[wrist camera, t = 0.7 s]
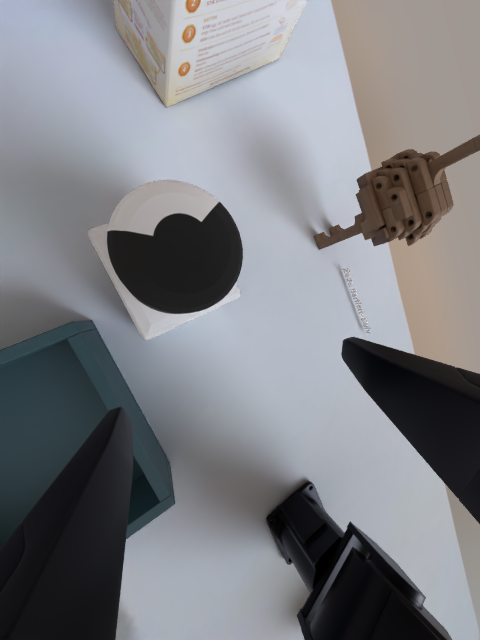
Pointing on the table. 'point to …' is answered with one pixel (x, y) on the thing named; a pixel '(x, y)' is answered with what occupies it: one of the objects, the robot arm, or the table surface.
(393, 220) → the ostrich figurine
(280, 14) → the coffeecake box
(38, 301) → the table surface
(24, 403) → the bin
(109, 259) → the medicine bottle
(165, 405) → the table surface
